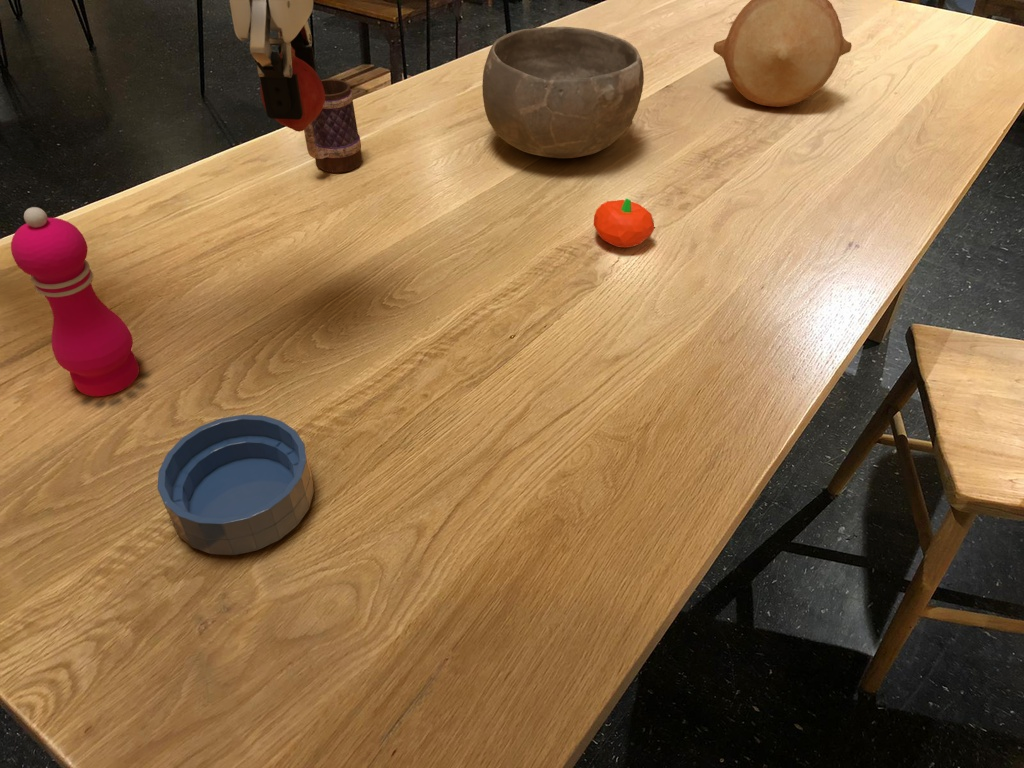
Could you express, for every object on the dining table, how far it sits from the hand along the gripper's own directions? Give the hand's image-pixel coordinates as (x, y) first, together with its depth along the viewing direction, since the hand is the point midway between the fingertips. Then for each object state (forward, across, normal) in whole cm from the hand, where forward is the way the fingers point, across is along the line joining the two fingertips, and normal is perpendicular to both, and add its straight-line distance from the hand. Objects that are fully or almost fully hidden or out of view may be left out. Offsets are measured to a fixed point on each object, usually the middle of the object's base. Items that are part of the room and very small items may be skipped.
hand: (293, 101), depth 73 cm
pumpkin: (+25, -17, +36) cm, 47 cm away
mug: (+25, -34, -6) cm, 43 cm away
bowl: (+25, -44, +28) cm, 58 cm away
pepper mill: (+25, +13, -20) cm, 35 cm away
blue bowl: (+25, +29, -2) cm, 38 cm away
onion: (+3, 0, 0) cm, 3 cm away
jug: (+24, -72, +68) cm, 102 cm away
